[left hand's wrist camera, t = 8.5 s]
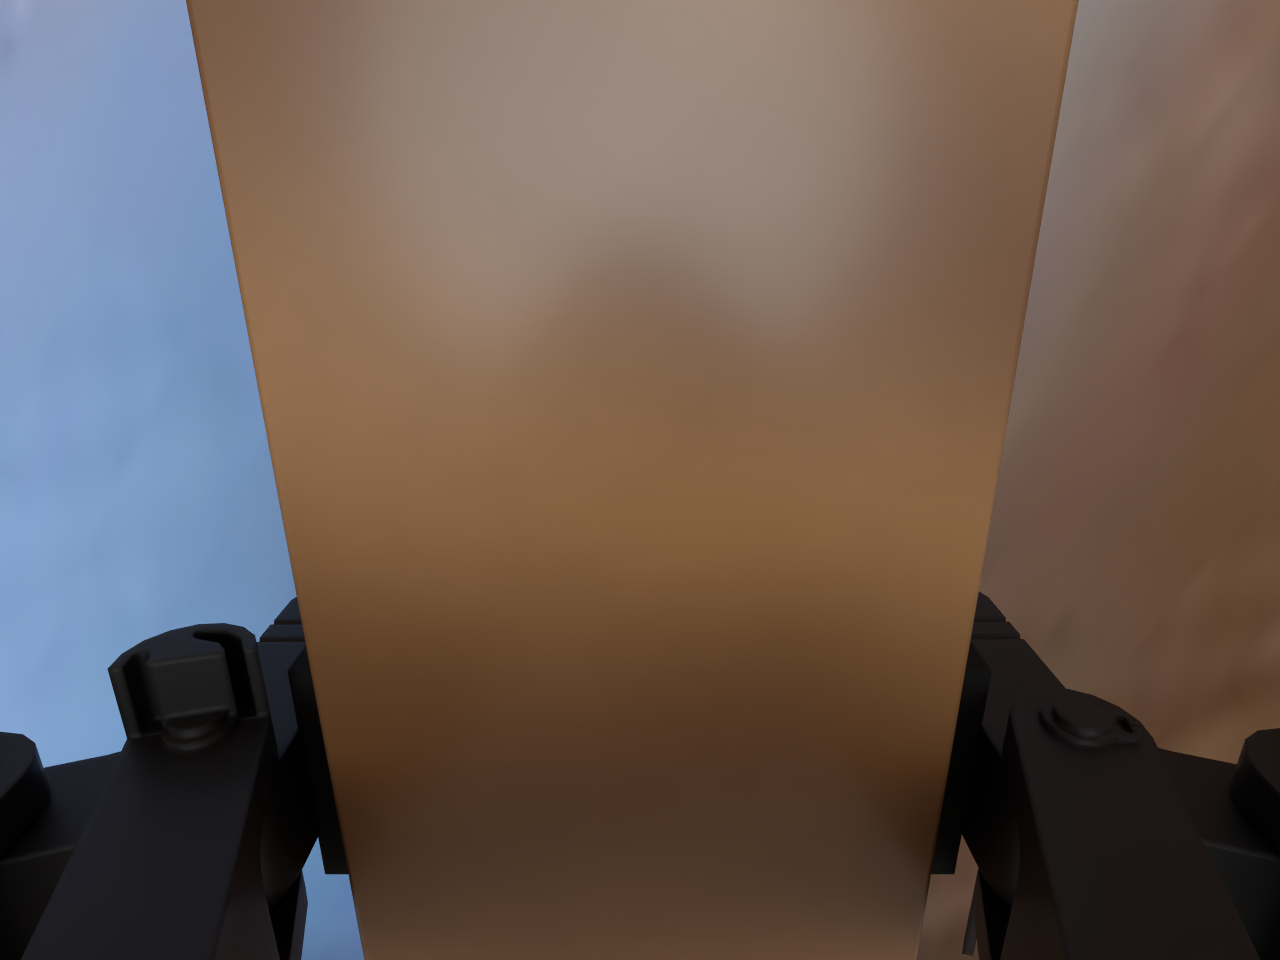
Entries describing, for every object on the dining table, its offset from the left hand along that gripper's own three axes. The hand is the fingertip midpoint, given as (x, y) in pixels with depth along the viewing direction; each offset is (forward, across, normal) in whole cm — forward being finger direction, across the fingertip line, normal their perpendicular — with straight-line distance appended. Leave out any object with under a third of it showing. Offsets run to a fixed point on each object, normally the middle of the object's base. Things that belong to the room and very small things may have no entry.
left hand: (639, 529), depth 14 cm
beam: (0, 0, -26) cm, 26 cm away
